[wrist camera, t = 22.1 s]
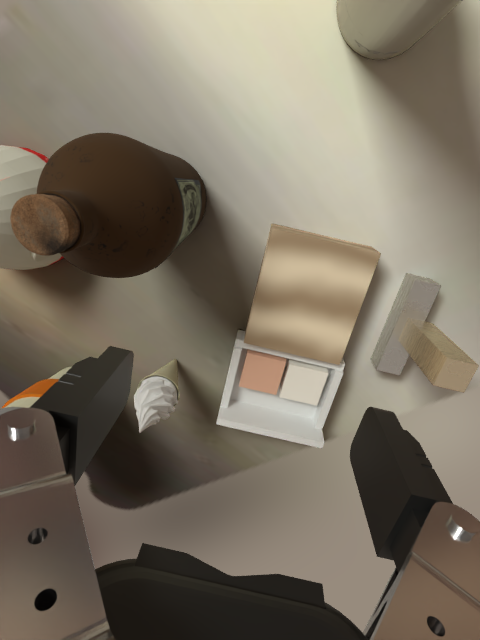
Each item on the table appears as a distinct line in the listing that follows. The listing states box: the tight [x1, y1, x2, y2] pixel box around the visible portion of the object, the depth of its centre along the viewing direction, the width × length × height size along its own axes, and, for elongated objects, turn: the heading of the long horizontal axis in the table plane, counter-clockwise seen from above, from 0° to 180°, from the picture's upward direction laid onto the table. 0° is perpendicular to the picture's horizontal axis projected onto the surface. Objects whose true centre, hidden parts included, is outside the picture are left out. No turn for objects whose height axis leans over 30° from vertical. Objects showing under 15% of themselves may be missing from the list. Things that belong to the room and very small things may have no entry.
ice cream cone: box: [134, 359, 179, 433], centre depth 43 cm, size 5×5×15 cm
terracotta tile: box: [239, 349, 286, 395], centre depth 46 cm, size 5×5×2 cm
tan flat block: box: [244, 224, 381, 365], centre depth 43 cm, size 14×12×4 cm
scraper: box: [371, 273, 479, 392], centre depth 39 cm, size 4×12×13 cm, turn 167°
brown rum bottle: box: [10, 133, 206, 278], centre depth 30 cm, size 11×11×25 cm
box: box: [216, 330, 345, 448], centre depth 47 cm, size 11×14×6 cm
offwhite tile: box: [279, 359, 328, 406], centre depth 47 cm, size 5×5×2 cm
